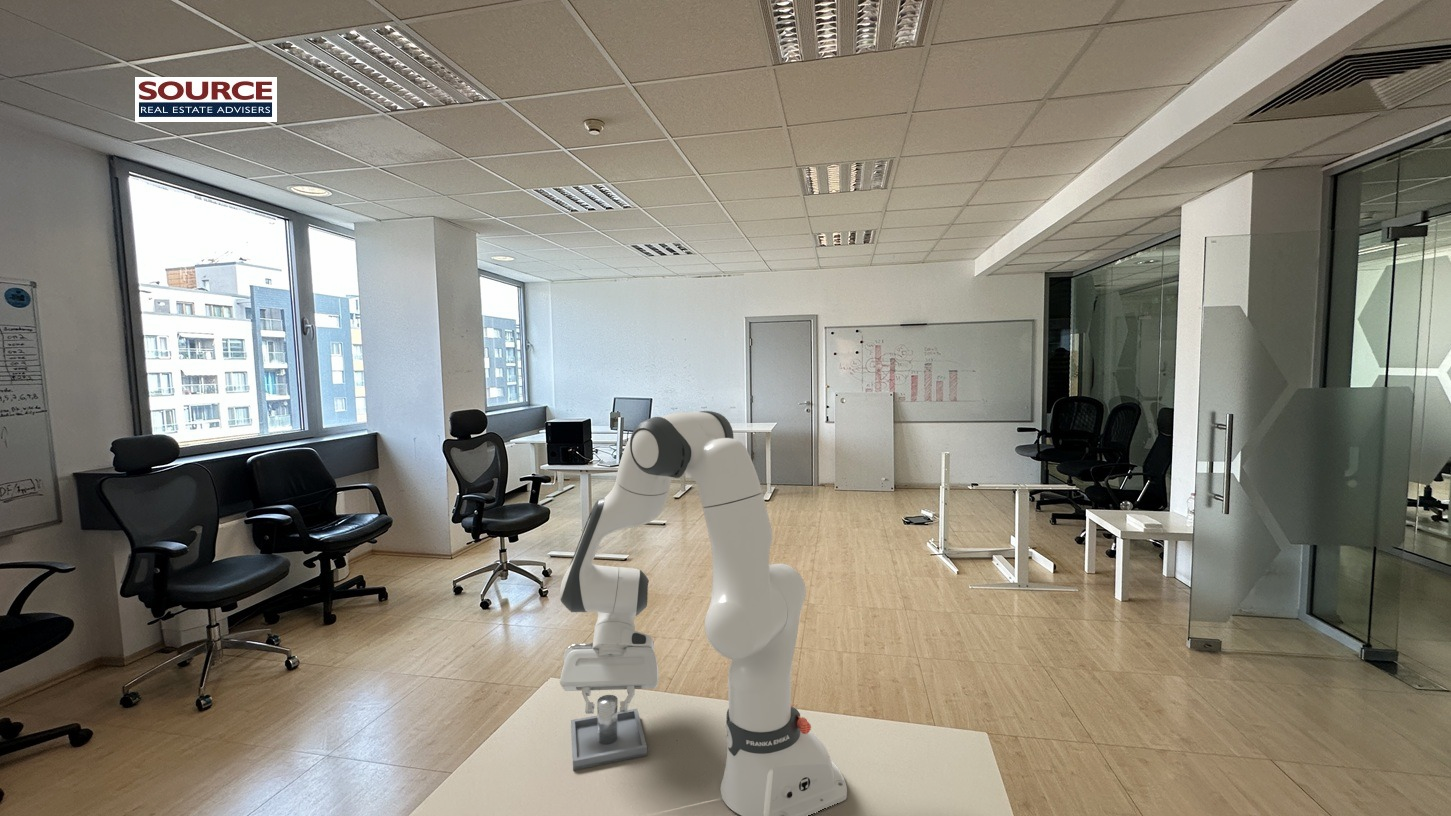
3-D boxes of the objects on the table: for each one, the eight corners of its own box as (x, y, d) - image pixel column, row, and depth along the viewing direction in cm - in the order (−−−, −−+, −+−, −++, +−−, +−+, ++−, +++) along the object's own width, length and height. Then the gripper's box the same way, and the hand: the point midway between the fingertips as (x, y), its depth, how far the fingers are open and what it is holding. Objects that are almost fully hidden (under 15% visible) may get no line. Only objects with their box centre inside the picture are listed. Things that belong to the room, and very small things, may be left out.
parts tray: (637, 716, 125) (637, 708, 125) (647, 755, 112) (646, 746, 112) (571, 728, 121) (570, 720, 121) (573, 770, 108) (572, 761, 108)
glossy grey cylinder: (616, 730, 119) (616, 693, 119) (618, 742, 115) (618, 704, 115) (596, 734, 118) (596, 696, 118) (598, 746, 114) (598, 707, 114)
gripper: (562, 638, 122) (551, 709, 113) (658, 636, 123) (655, 706, 114) (568, 649, 127) (557, 718, 118) (660, 646, 128) (657, 715, 118)
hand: (606, 712), depth 116 cm, fingers open, 5 cm apart
